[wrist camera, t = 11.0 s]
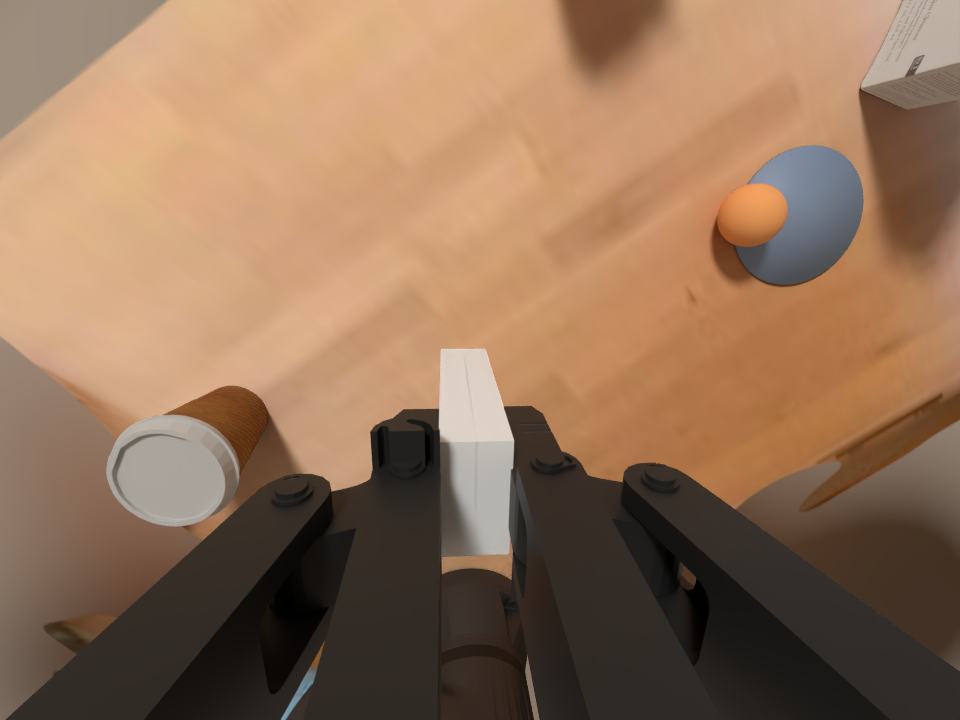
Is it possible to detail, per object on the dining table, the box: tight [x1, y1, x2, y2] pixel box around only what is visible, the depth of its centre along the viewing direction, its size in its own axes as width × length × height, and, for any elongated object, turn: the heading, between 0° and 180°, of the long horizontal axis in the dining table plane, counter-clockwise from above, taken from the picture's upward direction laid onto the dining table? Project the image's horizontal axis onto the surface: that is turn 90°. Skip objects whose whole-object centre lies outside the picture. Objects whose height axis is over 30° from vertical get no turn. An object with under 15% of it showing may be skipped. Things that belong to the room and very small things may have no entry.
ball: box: [717, 183, 788, 247], centre depth 41 cm, size 6×6×6 cm
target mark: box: [735, 146, 863, 285], centre depth 44 cm, size 13×13×1 cm
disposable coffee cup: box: [107, 386, 268, 526], centre depth 40 cm, size 10×10×12 cm
